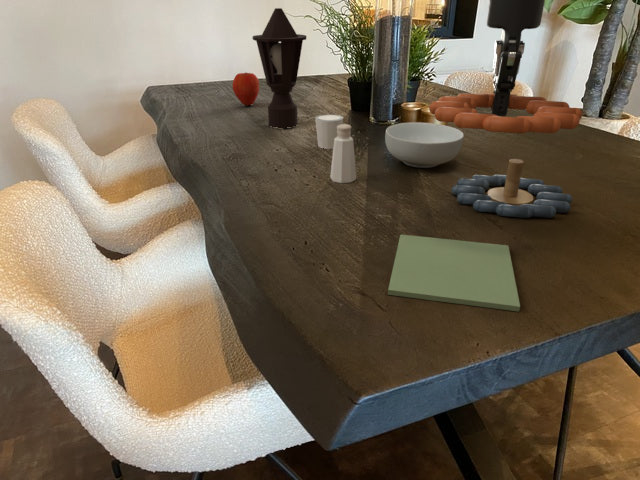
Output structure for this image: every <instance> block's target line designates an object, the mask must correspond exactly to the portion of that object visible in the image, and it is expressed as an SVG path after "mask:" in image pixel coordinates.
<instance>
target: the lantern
mask: <svg viewBox="0 0 640 480" xmlns="http://www.w3.org/2000/svg"><path fill="white" fill-rule="evenodd" d="M251 38H252V40H253V41H255V42H256V45H257V49H258V54H259V58H260V61H261V65H262V69H263V74H264V77H265V82H266V85H267V86H268V87H269V88H270V91H271V93H273V95H272V99H271V102H270V103H269V105H268V106H267V115H268V117H267V119H268V126H269V125H270V126H272V127H278V128H287V127H293V126H296V125H297V124H298V125H299V122H298V120H299V119H298V105H297V104H296V103H295V102H294V100H293V96H292V94H291V92H293V88H294V87H295V86H296V85H297V80H298V74H299V68H300V61H301V55H302V48H303V42H304V41H307V35H305V34H300V33H299V34H298V33H297V32H296V30H295V28H294V27H293V25H292V23H291V21H290V20H289V18H288V16H287V15H286V13H285V11H284V10H283V8H282V7H275V8H274V9H273V11H272V14H271V16H270V18H269V20H268V21H267V23H266V26H265V28H264V30H263V31H262V34H256V35H253V36H252V37H251Z"/></svg>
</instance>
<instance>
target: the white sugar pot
mask: <svg viewBox="0 0 640 480" xmlns="http://www.w3.org/2000/svg"><path fill="white" fill-rule="evenodd" d="M314 119H315V131H316V139H317V147H318V148H320V149H323V148H324V150H333V147H334V139H335V138H336V137H337V135H338V134H337V126H338V125H341V124H344V116H343V115H339V114H319V115H316V116H315V117H314Z"/></svg>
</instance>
